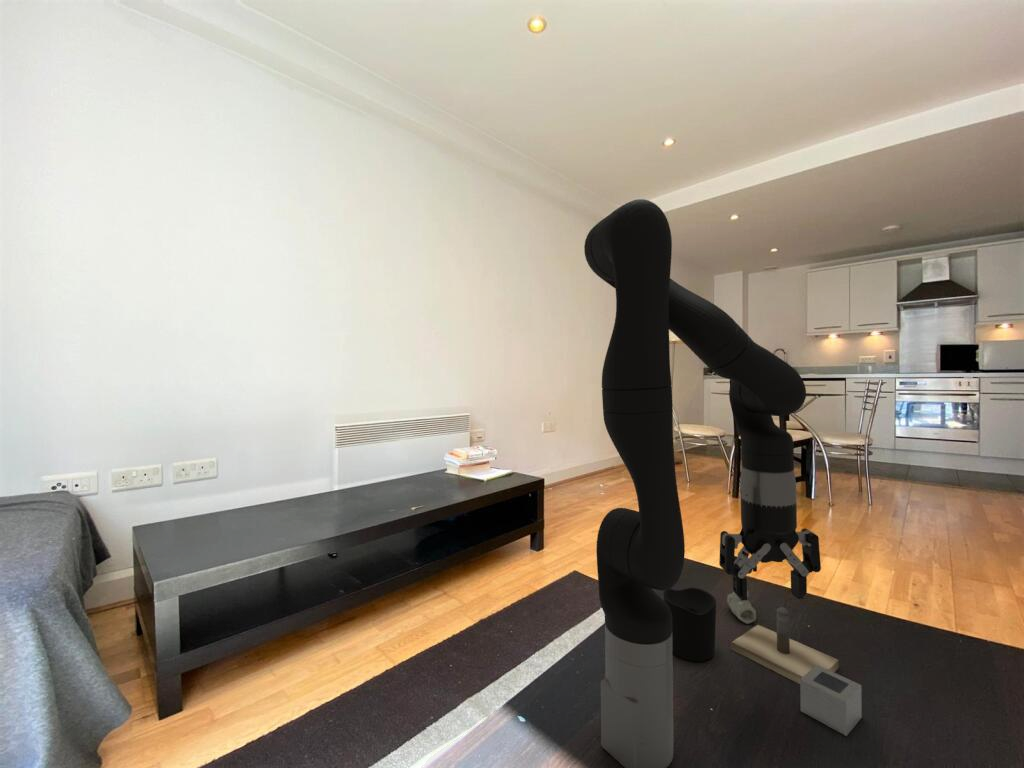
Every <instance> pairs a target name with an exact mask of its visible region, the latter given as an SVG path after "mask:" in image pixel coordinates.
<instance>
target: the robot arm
mask: <svg viewBox="0 0 1024 768" xmlns="http://www.w3.org/2000/svg"><path fill="white" fill-rule="evenodd" d="M672 240H673V239H672V231H671V228H670V222H669V221H668V218H667V216H666V214H665V212H664V211H663V210H662V209H661V207H660V206H658V205H657V204H656V203H655V202H653V201H650V200H649V199H644V198H642V199H641V198H640V199H634V200H631V201H628V202H626V203H625V204H622V205H621V206H619V207H617V208H616V209H615V210H613V211H612V212H611V213H610V214H608V215H607V216H605V217H604V218H603V219H601V220H600V221H599V222H597V223H596V224H595V225H594V226H593V227H592V228H590V230H589V232H588V233H587V235H586V238H585V241H584V247H583V248H584V252H583V253H584V257H585V260H586V262H587V264H588V267H589V268H590V269H591V271H592V272H593V273H594V274H595V275H596V276H598V277H599V278H600V279H601V280H602V281H604V282H605V283H607V284H608V285H609V286H611V287H612V288H613V289H615V300H616V301H615V305H616V307H615V310H616V311H615V318H614V324H613V328H612V333H611V336H610V340H609V343H608V346H607V350H606V354H605V358H604V361H603V367H602V372H601V397H602V399H601V401H602V412H603V413H602V414H603V421H604V426H605V429H606V431H607V435H608V436H609V438H610V440H611V442H612V444H613V445H614V448H615V450H616V451H617V453H618V455H619V456H620V459H621V460H622V463H623V464H624V466H625V467H626V469H627V471H628V473H629V475H630V477H631V480H632V483H633V484H634V489H635V492H636V497H637V498H636V499H637V504H638V505H637V506H638V510H634V509H632V508H631V509H630V508H626V507H615V508H613V509H611V510H610V511H608V512H607V514H606V515H605V516H604V517H603V518H602V520H601V523H600V525H599V528H598V533H597V537H596V567H597V569H596V570H597V577H598V578H597V584H598V596H599V603H600V606H601V609H602V611H603V614H604V643H605V644H604V651H605V653H604V656H605V657H604V660H605V661H604V662H605V663H604V664H605V667H604V668H605V672H604V673H605V677H604V678H603V679H601V681H600V725H601V726H600V730H601V731H600V737H601V738H600V739H601V740H600V741H601V747H602V748H603V749H604V750H605V751H606V752H607V753H608V754H609V755H610V756H612V757H613V758H614V759H615V760H616V761H617V762H618V763H619V764H621V765H622V766H623V768H668V767H669V766H670V764H671V763H672V761H673V758H674V679H673V678H674V672H673V671H674V669H673V663H674V662H673V661H674V660H673V653H672V652H673V644H672V614H671V611H670V609H669V607H668V605H667V604H666V603H665V602H664V599H662V597H660V595H659V594H657V592H656V591H655V590H657V591H665V590H668V589H672V588H674V587H675V585H676V584H677V583H678V581H679V580H680V578H681V575H682V572H683V567H684V564H685V552H686V549H685V533H684V526H683V519H682V518H683V517H682V512H681V504H680V498H679V491H678V485H677V475H676V465H675V463H676V462H675V448H674V447H675V446H674V418H673V414H674V411H673V408H674V407H673V387H672V384H673V383H672V376H671V360H670V358H671V357H670V332H671V333H673V334H674V335H675V336H676V337H677V338H678V339H679V340H680V341H681V342H682V343H684V345H685V346H687V348H688V349H690V351H692V352H693V353H694V355H696V357H697V358H698V359H699V360H700V361H701V362H703V364H705V366H706V367H708V369H709V370H710V371H712V372H713V373H714V374H715V375H717V376H718V377H721V378H723V379H726V380H727V379H728V380H731V382H730V385H729V391H728V398H729V404H730V408H731V411H732V415H733V418H734V422H735V427H736V429H737V432H738V434H739V438H740V440H741V441H740V442H741V443H740V444H741V447H740V448H741V449H740V452H741V453H740V456H741V459H740V460H741V469H740V470H741V471H740V478H739V479H740V480H739V481H740V482H739V484H740V485H739V494H740V522H741V530H740V532H739V533H729V532H728V531H726V530H723V531H721V532H720V534H719V535H720V537H719V558H718V559H719V562H718V563H719V566H720V567H721V569H722V570H724V572H725V573H726V574H727V575H730V576H731V575H732V591H734V592H735V594H736V595H737V596H738V597H739V598H740V599H741V600H742V601H743V600H748V598H747V591H748V583H747V582H748V579H747V577H746V576H747V575H748V572H749V571H750V570H751V569H752V568H755V567H756V565H757V566H758V564H760V562H761V563H762V564H764V563H765V564H767V563H770V562H775V563H784V562H783V561H784V560H786V562H787V563H788V564H789V566H790V567H791V568H792V569H790V593H791V595H792V596H794V598H796V599H797V600H804V598H805V596H806V595H807V592H808V587H807V586H808V585H807V584H808V580H807V579H808V576H809V574H810V573H814V572H815V573H819V572H820V571H821V569H822V567H821V566H822V565H821V554H820V553H821V552H820V550H821V549H820V542H819V541H820V540H819V539H820V537H819V536H818V535H817V534H816V533H814V531H811V530H809V529H808V528H807V527H806V528H802V529H801V530H800V531H796V530H797V527H798V522H797V521H798V519H797V517H798V515H797V512H798V510H797V508H798V507H797V505H798V504H797V480H796V475H795V469H794V468H795V465H794V464H795V457H794V454H795V452H794V451H795V450H794V448H795V447H794V438H793V436H792V435H791V434H790V433H789V431H786V430H785V429H782V428H780V427H779V426H778V425H776V423H775V421H774V418H773V416H788V415H790V414H794V413H796V412H797V411H799V410H800V408H801V407H803V405H804V403H805V400H806V396H807V390H806V385H805V382H804V380H803V378H802V376H801V375H800V373H799V372H798V371H797V370H796V369H795V368H794V367H792V365H790V364H789V363H788V362H787V361H784V359H782V358H780V357H779V356H777V355H776V354H775V353H773V352H771V351H770V350H768V349H766V348H765V347H763V346H761V345H759V344H758V343H757V342H756V341H754V340H753V339H752V338H751V336H749V334H748V333H747V332H746V331H745V330H744V329H743V328H742V327H741V326H740V325H739V324H738V323H737V322H736V321H735V319H733V318H732V316H730V315H729V314H728V313H727V312H725V311H724V310H723V309H722V308H721V307H718V305H716V304H714V303H712V302H711V301H710V300H708V299H705V298H704V297H702V296H700V295H699V294H696V293H694V292H693V291H691V290H689V289H687V288H685V287H684V286H682V285H681V284H679V283H678V282H676V281H674V279H672V278H671V269H672V251H673V250H672V249H673V248H672V247H673V243H672V242H673V241H672ZM798 543H799V544H801V549H802V550H801V551H802V560H801V559H800V558H799V557H798V556H797V555H796V554H795V552H794V551H793V550H794V549H795V547H796V546H797V545H798ZM739 544H742V545H743V546H742V548H741V549H739V551H738V552H737V559H736V560H735V561H734V556H736V554H735V553H736V552H735V550H736V549H738V548H739V547H738V546H739ZM749 555H750V556H749ZM752 570H753V569H752Z"/></svg>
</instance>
